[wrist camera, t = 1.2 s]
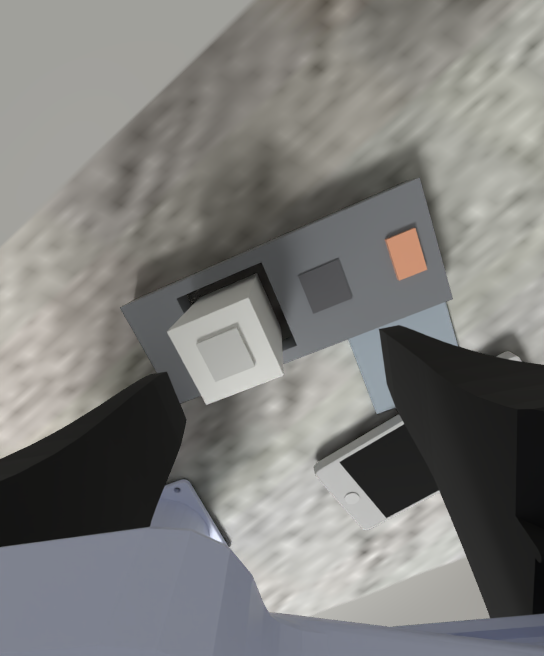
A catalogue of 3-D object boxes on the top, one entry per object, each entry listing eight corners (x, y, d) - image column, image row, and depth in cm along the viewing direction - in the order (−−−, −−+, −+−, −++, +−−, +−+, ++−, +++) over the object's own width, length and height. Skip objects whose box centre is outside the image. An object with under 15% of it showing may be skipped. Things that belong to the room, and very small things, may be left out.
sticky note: (375, 411, 24) (376, 414, 24) (345, 332, 23) (346, 333, 22) (465, 380, 24) (467, 382, 23) (441, 295, 22) (443, 296, 22)
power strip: (183, 390, 24) (174, 407, 22) (133, 300, 22) (117, 309, 20) (437, 291, 22) (455, 300, 20) (405, 181, 20) (422, 176, 18)
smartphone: (311, 465, 25) (313, 474, 24) (508, 348, 22) (518, 354, 21) (362, 522, 27) (365, 533, 26) (548, 422, 24) (559, 430, 23)
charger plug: (226, 351, 23) (205, 407, 16) (199, 297, 22) (165, 332, 15) (281, 329, 23) (283, 377, 16) (256, 273, 22) (248, 298, 15)
